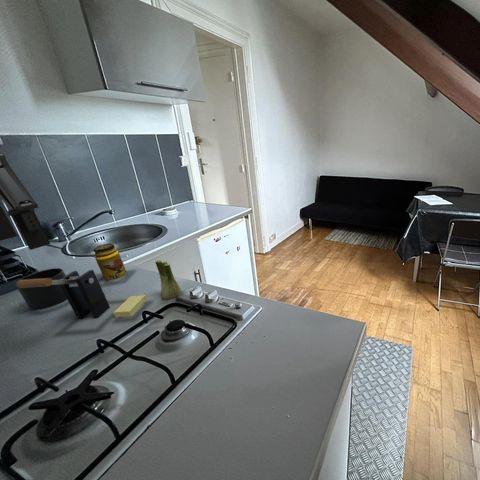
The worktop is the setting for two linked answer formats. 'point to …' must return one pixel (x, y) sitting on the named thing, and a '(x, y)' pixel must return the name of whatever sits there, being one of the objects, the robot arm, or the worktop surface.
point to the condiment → (109, 262)
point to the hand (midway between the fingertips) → (23, 242)
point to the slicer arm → (46, 282)
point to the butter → (130, 306)
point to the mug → (43, 290)
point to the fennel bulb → (167, 281)
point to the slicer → (85, 295)
